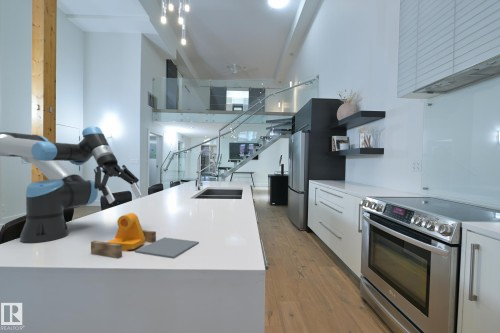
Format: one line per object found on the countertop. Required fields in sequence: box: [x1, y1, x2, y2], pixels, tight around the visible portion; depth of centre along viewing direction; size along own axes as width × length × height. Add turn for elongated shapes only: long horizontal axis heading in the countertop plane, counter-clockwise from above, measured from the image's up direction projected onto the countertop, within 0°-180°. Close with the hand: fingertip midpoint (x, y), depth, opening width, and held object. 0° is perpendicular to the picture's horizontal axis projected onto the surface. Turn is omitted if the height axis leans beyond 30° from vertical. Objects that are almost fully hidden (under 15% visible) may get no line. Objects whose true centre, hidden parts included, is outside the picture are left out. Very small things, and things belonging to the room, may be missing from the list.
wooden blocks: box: [90, 229, 157, 259], centre depth 89 cm, size 12×18×4 cm, turn 162°
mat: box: [134, 237, 200, 259], centre depth 89 cm, size 16×16×1 cm
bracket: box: [107, 212, 146, 252], centre depth 89 cm, size 11×7×12 cm, turn 83°
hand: (126, 199), depth 103 cm, fingers open, 13 cm apart
